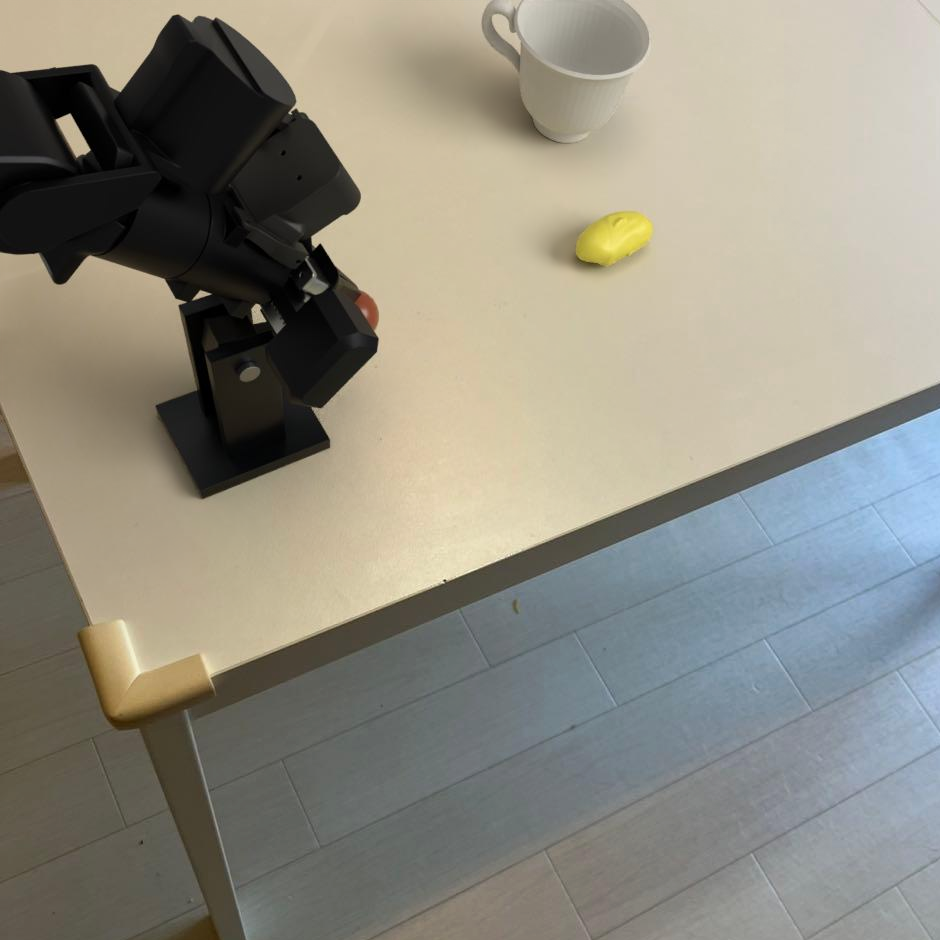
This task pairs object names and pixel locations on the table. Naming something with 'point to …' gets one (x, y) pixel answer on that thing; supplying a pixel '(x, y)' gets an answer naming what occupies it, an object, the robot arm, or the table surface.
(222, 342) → the lever
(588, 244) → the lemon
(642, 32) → the teacup
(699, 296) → the table surface
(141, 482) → the table surface
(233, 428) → the bracket
